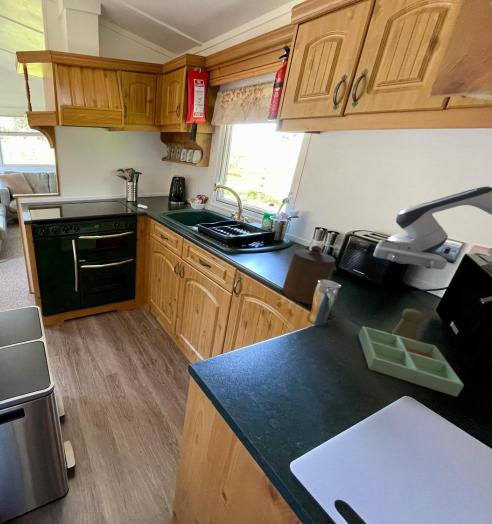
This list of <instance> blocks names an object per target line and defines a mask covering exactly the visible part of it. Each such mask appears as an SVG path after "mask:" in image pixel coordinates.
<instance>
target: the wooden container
mask: <svg viewBox="0 0 492 524" xmlns="http://www.w3.org/2000/svg"><path fill="white" fill-rule="evenodd" d="M310 248H311V249H303V248H302V249H301V248H299V249H295V250H294V251H293V254H292V257H291V261H290V264H289V267H288V269H287V273H286V276H285V279H284V283H283V286H282V293H283V295H284V296H286V297H287V298H289V299H290V300H293V301H295V302H298V303H302V304H307V305H312V301H313V294H314V291H315V288H316V286H317V284H318V281H319V280H321V279H325V280H329V279H330V276H331V273H332V269H333V268H334V266H335V263H336V259H335V258H334V257H333V256H332V255H329V254H327V253H324V252H321V251H322V248H321V246H319V245H312V246H311V247H310Z"/></svg>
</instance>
